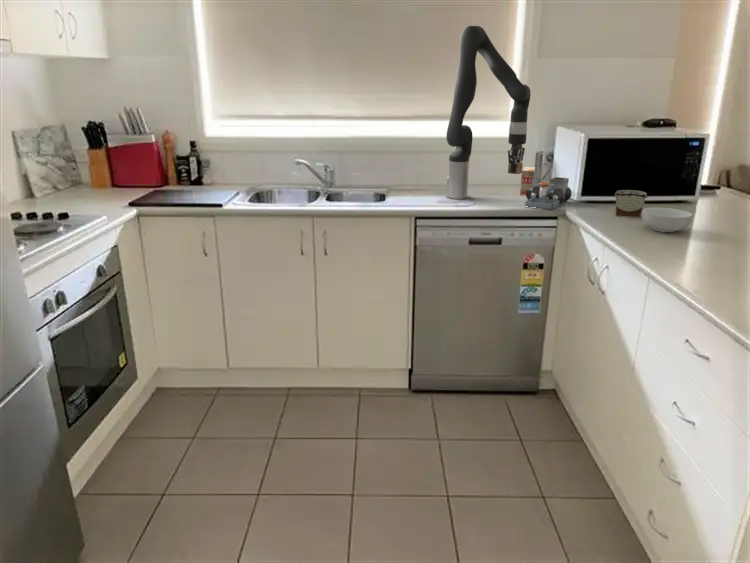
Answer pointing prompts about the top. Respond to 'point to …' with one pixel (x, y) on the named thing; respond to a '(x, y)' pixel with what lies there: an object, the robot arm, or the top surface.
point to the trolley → (556, 185)
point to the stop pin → (543, 192)
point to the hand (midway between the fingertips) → (514, 171)
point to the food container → (629, 202)
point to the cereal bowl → (666, 219)
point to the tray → (542, 204)
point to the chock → (518, 168)
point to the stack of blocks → (527, 179)
